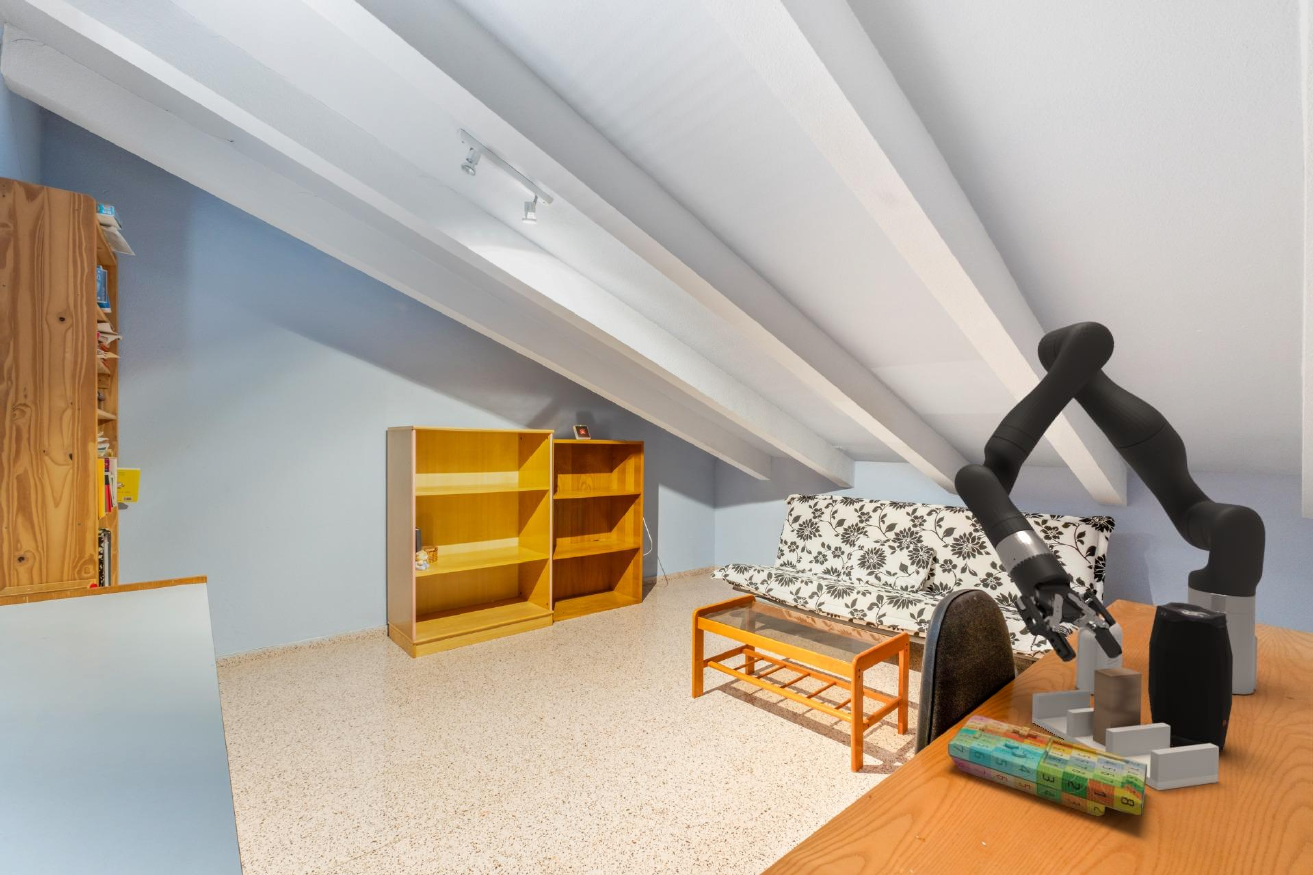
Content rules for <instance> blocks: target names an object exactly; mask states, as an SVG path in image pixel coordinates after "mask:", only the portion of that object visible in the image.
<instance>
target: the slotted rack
mask: <svg viewBox="0 0 1313 875" xmlns="http://www.w3.org/2000/svg"><path fill="white" fill-rule="evenodd" d="M1091 696H1092V694H1091V691H1088V690H1086V689H1080V690H1079V689H1071V690H1059V691H1058V690H1057V691H1049V692H1048V691H1047V692H1037V693H1036V692H1035V693H1032V707H1031V708H1032V709H1031V710H1032V711H1031V712H1032V716H1031V718H1032V719H1031V723H1032V724H1033V723H1035V724H1036V725H1035V724H1034V725H1035V726H1037V725H1039V726H1040V727H1039V726H1038V727H1039V728H1041V727H1043V728H1044V729H1043V728H1042V729H1043V730H1045V729H1046V730H1047V731H1046V730H1045V731H1046V732H1048V731H1049V733H1050V732H1052V733H1053V734H1052V733H1051V734H1052V735H1054V734H1055V735H1054V736H1056V735H1057V736H1056V737H1058V736H1060V737H1061V738H1063V739H1065V740H1067V741H1069V742H1073V743H1076V744H1080V745H1083V746H1087V747H1090V748H1094V749H1097V750H1101V751H1104V752H1108V753H1111V754H1115V755H1118V756H1122V757H1125V758H1129V759H1132V760H1136V761H1139V762H1143V763H1146V764H1147V777H1146V785H1147V786H1149V787H1150V788H1153V789H1155V790H1156V791H1165V790H1172V789H1179V788H1184V787H1192V786H1193V787H1194V786H1199V785H1206V784H1212V783H1213V784H1214V783H1219V760H1220V759H1219V757H1220V755H1219V754H1220V752H1219V751H1220V750H1219V747H1218V746H1216V745H1213V744H1211V743H1208V744H1200V745H1192V746H1183V747H1175V748H1174V747H1171V744H1170V726H1169V725H1167V724H1165V723H1156V724H1152V723H1150V724H1149V723H1147V724H1141V725H1138V726H1128V727H1119V728H1110V729H1106V746H1104V745H1102V744H1100V743H1098V742H1096V741H1094V740H1093V711H1094V707H1091ZM1061 738H1060V739H1061Z"/></svg>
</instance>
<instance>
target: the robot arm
mask: <svg viewBox="0 0 1313 875" xmlns="http://www.w3.org/2000/svg"><path fill="white" fill-rule="evenodd" d="M1114 350H1115V340H1114V336H1113V334H1112V331H1111V330H1109V328H1108V327H1107V326H1106V325H1104V324H1102V323H1099V322H1096V321H1082V322H1077V323H1074V324H1071V325H1066V326H1064V327H1061V328H1060V327H1059V328H1057V329H1054V330H1051V331H1050V332H1048V333H1046V334H1045V335H1043V337H1041V339H1040V341H1039V342H1038V344H1037V356H1038V359H1039V362H1040V364H1041V365H1042V367H1043V369H1044V370H1045V372H1047V373H1046V375H1045V376H1044V377H1043V378H1042V380H1041V381H1040V382H1039V383H1037V385H1036V386H1035V387H1034V388H1032V390H1031V391H1030V392H1029V393H1028V394H1027V395H1026V396H1024V397H1023V398H1022V399H1021V400H1020V401H1019V402H1018V403H1017V404H1016V405H1015V406H1013V408H1011V410H1009V412H1008V413H1007V414H1006V415H1005V416H1004V417H1003V418H1002V420H1001V421H1000V422H999V424H998V426H997V427H996V428H995V430H994V431H993V433H992V434H991V436H990V437H989V438H988V440H987V441H986V443H985V445H984V449H983V454H984V461H983V464H979V463H970V464H967V465H966V464H965V465H964V466H962V467H961V468H960V469H959V470H958V471H957V472H956V474H955V476H954V481H953V482H954V489H955V491H956V493H957V494H958V496H959V498H960V499H961V500H962V502H963V503H964V504H965V506H966V507H967V509H968V510H969V511H970V514H971V513H972V515H973V516H974V518H975V520H976V521H977V522H978V523H979V525H980V526H981V528H982V531H983V533H984V534H985V536H986V538H987V540H988V542H990V545H991V546H992V547H993V549H994V551H995V552H996V554H997V556H998V559H999V561H1000V563H1001V564H1002V566H1003V568H1004V570H1005V571H1006V572H1007V574H1008V575H1009V577H1010V579H1011V580H1012V582H1013V583H1014V585H1015V587H1016V588H1017V590H1018V591H1019V593H1020V594H1021V595H1020V596H1019V597H1018V598H1016V599H1015V600H1014V601H1013V605H1014V607H1015V608H1016V611H1017V612H1018V614H1019V616H1020V617H1021V619H1022V621H1023V623H1024V625H1025V627H1026V628H1027V630H1028V632H1029V634H1030V635H1031V636H1033V637H1037V636H1041V637H1042V638H1043V639H1044V640H1047V641H1048V643H1049V644H1050V646H1051V648H1053V650H1054V652H1055V654H1056V655H1057V657H1059V658H1060V659H1061V661H1062V662H1064V663H1068V662H1071V661H1073V660H1074V659H1075V658H1077V652H1076V651H1075V650H1074V649H1073V647H1072V645H1071V644H1070V642H1069V641H1068V639H1067V638H1066V636H1065V634H1064V633H1063V632H1062V631H1061V632H1060V625H1061V624H1062V623H1066V624H1074V625H1075V626H1076V627H1078V628H1081V627H1083V628H1085V629H1087V630H1088V631H1089V632H1091V633H1092V634H1094V635H1095V639H1096V640H1097V642H1098V643H1099V645H1100V646H1101V647H1102V649H1103V650H1104V652H1105V653H1106V655H1107V656H1108V657H1109V658H1116V657H1118V656H1119V655H1121V654H1122V655H1123V648H1122V649H1121V646H1120V645H1119V644H1118V642H1117V641H1116V639H1115V638H1114V637H1113V635H1112V634H1111V632H1110V631H1109V628H1110V627H1111V626H1113V625H1114V624H1116V619H1115V618H1114V617H1113V616H1112V614H1111V613H1110V612H1109V611H1108V609H1107V608H1106V607H1105V606H1104V604H1103V603H1102V602H1101V600H1100V599H1099V598H1098V596H1096V594H1095V593H1094V592H1093V591H1092V590H1090V589H1088V590H1085V592H1083V593H1079V594H1078V593H1077V592H1076V591H1074V589H1073V588H1072V587H1071V577H1070V575H1069V574H1068V572H1067V571H1066V569H1065V568H1064V566H1063V565H1062V563H1061V562H1060V561H1059V559H1058V558H1057V557H1056V555H1055V553H1053V551H1052V550H1051V549H1050V546H1049V545H1048V544H1047V543H1046V541H1045V540H1044V539H1043V538H1041V536H1040V535H1039V534H1038V533H1037V531H1035V529H1034V528H1033V526H1032V524H1031V523H1030V522H1029V521H1028V519H1027V518H1026V516H1025V515H1024V513H1022V512H1021V510H1020V509H1018V507H1017V506H1016V505H1015V503H1014V502H1013V501H1012V500H1011V498H1010V496H1011V492H1012V490H1013V488H1014V486H1015V483H1016V481H1017V478H1018V477H1019V474H1020V471H1021V468H1022V466H1023V464H1024V463H1025V462H1026V461H1027V459H1028V457H1029V456H1030V455H1031V453H1032V452H1033V450H1034V449H1035V447H1036V446H1037V445H1038V443H1039V442H1040V440H1041V439H1042V438H1043V436H1044V434H1045V433H1046V431H1047V430H1048V429H1049V427H1050V426H1051V425H1052V424H1053V423H1054V421H1055V420H1056V418H1057V417H1058V416H1059V415H1061V413H1062V411H1063V410H1064V409H1065V408H1066V407H1067V406H1068V404H1069V403H1070V402H1071V401H1072V400H1073V399H1074V400H1075V401H1076V402H1077V404H1079V405H1080V407H1082V409H1083V410H1084V411H1085V413H1086V414H1087V415H1088V416H1089V418H1090V419H1091V420H1092V421H1093V423H1094V424H1096V427H1098V428H1099V430H1101V432H1102V433H1103V434H1104V436H1105V437H1106V438H1107V439H1108V441H1109V442H1110V443H1111V446H1113V447H1114V449H1115V450H1116V451H1117V452H1118V453H1119V455H1120V456H1121V457H1122V458H1123V459H1124V461H1125V462H1126V463H1127V464H1128V465H1129V466H1130V468H1131V469H1132V470H1133V471H1134V472H1135V473H1136V475H1137V476H1138V477H1139V479H1140V480H1141V481H1142V482H1143V483H1144V484H1145V486H1146V487H1147V489H1148V490H1149V491H1150V492H1151V493H1152V495H1154V497H1155V498H1156V500H1157V502H1159V504H1160V505H1161V507H1162V508H1163V510H1164V512H1165V513H1166V514H1167V517H1168V519H1170V521H1171V523H1172V525H1173V526H1174V527H1175V530H1176V531H1177V532H1178V534H1179V535H1180V536H1181V538H1182V539H1183V540H1184V541H1185V542H1187V543H1188V545H1190V546H1192V547H1194V548H1195V549H1196V548H1197V549H1198V550H1201V551H1205V552H1206V551H1207V552H1208V560H1207V564H1206V565H1205V566H1204V567H1202V568H1200V569H1199V568H1198V569H1194V570H1191V571H1190V572H1189V573H1188V577H1187V586H1188V587H1187V604H1192V605H1198V606H1200V607H1202V608H1204V609H1207V610H1210V611H1213V612H1216V613H1219V612H1221V613H1225V614H1226V620H1227V623H1226V624H1227V629H1228V634H1229V639H1230V644H1231V649H1232V655H1233V678H1232V695H1235V694H1236V695H1251V694H1253V693H1254V690H1257V681H1258V680H1257V679H1258V678H1257V674H1258V673H1257V672H1258V637H1257V636H1256V599H1257V598H1256V597H1257V596H1256V595H1257V592H1256V591H1257V586H1258V585H1259V583H1260V582H1261V579H1262V577H1263V571H1264V561H1265V548H1266V526H1265V523H1264V521H1263V519H1262V517H1261V516H1260V514H1259V513H1258V512H1257V511H1256V510H1254V509H1253V508H1251V507H1248V506H1244V505H1240V504H1235V503H1233V504H1232V503H1223V502H1217V501H1216V502H1215V501H1214V500H1212V499H1211V498H1210V497H1209V496H1208V495H1207V494H1206V493H1205V492H1204V491H1203V490H1202V488H1201V487H1200V486H1198V484H1197V483H1196V482H1195V480H1194V479H1193V478H1192V476H1191V474H1190V471H1189V467H1188V457H1187V451H1186V446H1185V443H1184V441H1183V439H1182V437H1181V435H1180V434H1179V433H1178V432H1177V431H1176V429H1175V428H1174V426H1172V424H1171V423H1170V421H1168V420H1167V418H1166V417H1165V416H1164V415H1163V414H1162V413H1161V412H1160V411H1159V410H1158V409H1157V408H1155V407H1154V406H1153V405H1152V404H1150V403H1148V402H1147V401H1146V400H1144V399H1142V398H1140V397H1139V396H1137V395H1135V394H1133V393H1131V392H1130V391H1128V390H1127V389H1125V388H1123V387H1121V386H1120V385H1119V384H1117V383H1116V382H1115V381H1113V380H1112V379H1111V378H1110V377H1109V376H1108V374H1106V373H1105V372H1104V371H1103V367H1104V366H1105V365H1106V364H1107V363H1108V362H1109V361H1110V359H1111V358H1112V355H1113V354H1114ZM1082 613H1083V614H1085V615H1083V616H1082ZM1099 615H1101V617H1100V616H1099ZM1101 618H1104V619H1105V620H1102V619H1101ZM1089 621H1092V622H1094V623H1095V625H1096V626H1093V625H1092V624H1090V623H1089ZM1034 622H1035V623H1034Z"/></svg>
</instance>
